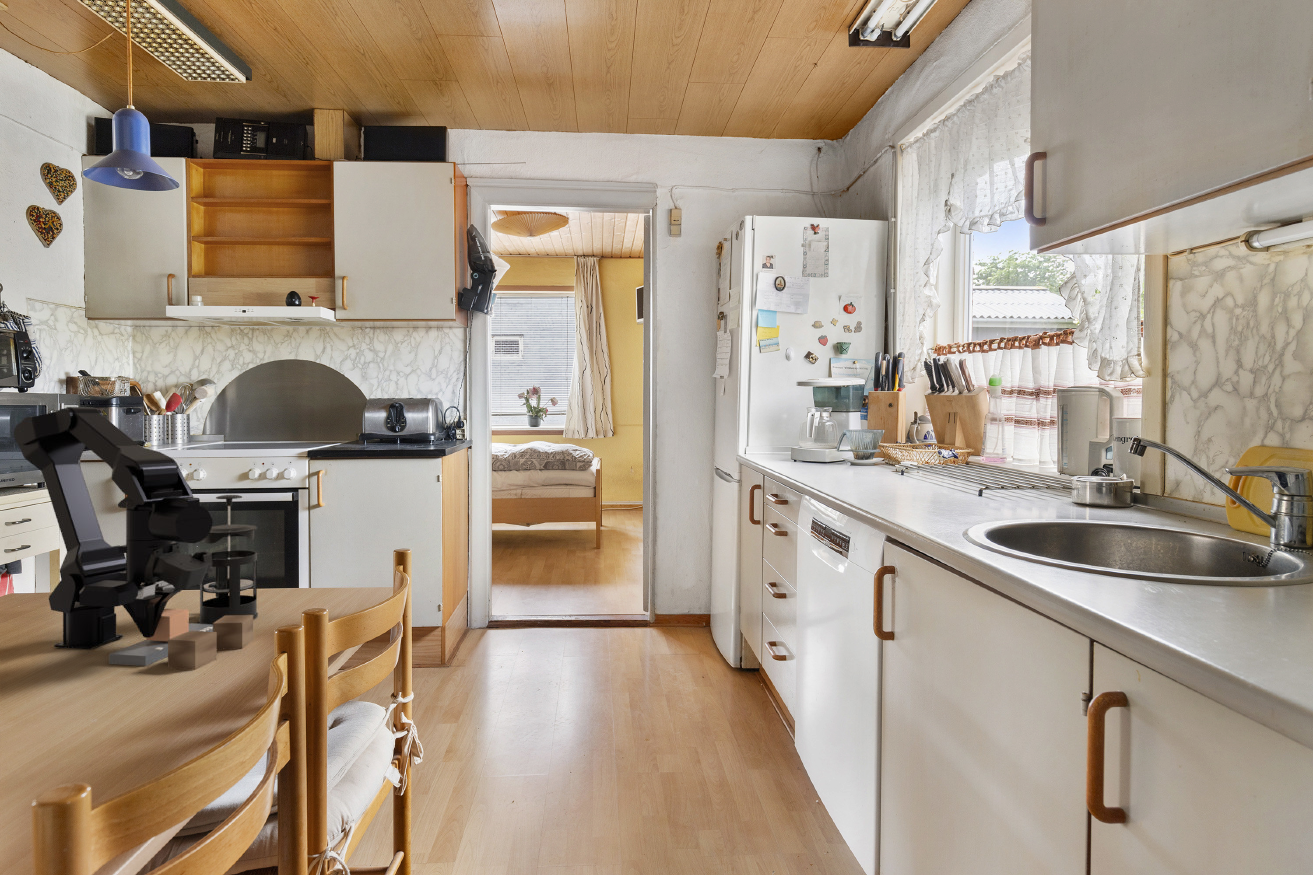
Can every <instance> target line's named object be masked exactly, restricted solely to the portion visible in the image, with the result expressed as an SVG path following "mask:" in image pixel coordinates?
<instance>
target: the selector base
mask: <svg viewBox="0 0 1313 875" xmlns="http://www.w3.org/2000/svg"><path fill="white" fill-rule="evenodd" d="M189 631H204V632H213V625H212V624H199V623H193V622H192V623H191V622H189ZM165 658H168V641H152V640H146V639H143V640H141V641H139V642H136V643H134V644H131V645H128V646H125V647H123V648H121V649H118V650H116V651H113V652H111V653H108V664H109V665H122V666H123V665H125V666H126V665H127V666H137V667H138V666H142V667H145V666H146V667H147V666H148V665H151V664H153V663H156V662H158V661H160V660H163V659H165Z"/></svg>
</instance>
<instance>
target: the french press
mask: <svg viewBox="0 0 1313 875" xmlns="http://www.w3.org/2000/svg"><path fill="white" fill-rule="evenodd" d="M242 498H243V496H242V495H239V494H223V495H219V496H216V497H215V499H216V500H225V503H226V504H225V505H226V507H227V524H221V525H216V526H213V525H212V528H211V531H210V532H209V534H208V535H207V537H206V538H205V539H203V540H202V542H203V543H204V544H210V545H212V544H216V543H218V542H219V541H220V540H222V539H223V538H227V550H226V549H225V550H217V551H212V552H210V553H211V554H212V562H213V564H212V568H215V581H214V582H212V581H211V582H209V583H206V584H204V580H203V581H202V584H200V585H199V619H198V624H212V625H213V623H214V622H216V621H217V620H219V619H220V618H222V617H223V616H229V615H253V621H254V620H256V619H257V618H258V616H259V613H258V611H257V609H258V608H257V607H258V605H257V602H258V601H257V599H258V598H257V592H258V591H257V584H258V583H257V582H258V580H257V578H258V573H257V572H258V570H257V569H258V553H257V551H255V550H247V549H243V550H242V549H235V550H234V549H233V550H232V549H231V537H245V538H247V539H248V540H251V541H253V540H255V531H256V530H258V526H256V525H251V524H237V523H236V524H234V523H232V524H231V507H233V500H235V499H236V500H237V499H242ZM252 563H253V564H252ZM248 564H252V565H253V567H252V572H253V573H252V576H253V577H252V578H253V579H252V580H251V579H241V566H243V565H248ZM252 588H253V589H252ZM251 589H252V590H253V592H252V595H245V594H244V595H243V594H241V592H243V591H247V590H251ZM204 593H208V594H215V597H213V598H208V599H206V600H204Z"/></svg>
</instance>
